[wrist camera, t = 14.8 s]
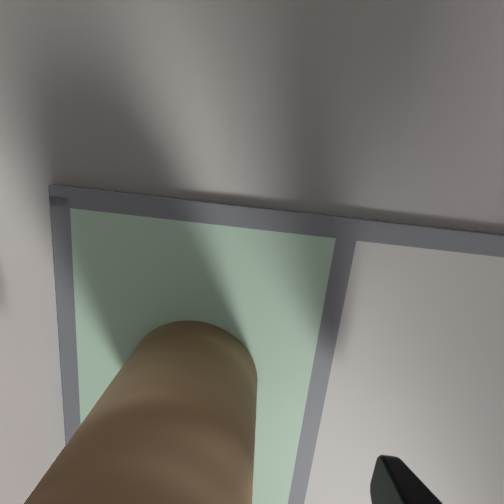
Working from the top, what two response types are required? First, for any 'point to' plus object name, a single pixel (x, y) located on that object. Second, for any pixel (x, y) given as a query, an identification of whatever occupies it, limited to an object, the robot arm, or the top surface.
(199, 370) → the beige wooden cylinder
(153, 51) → the top surface
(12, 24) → the top surface
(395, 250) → the board
